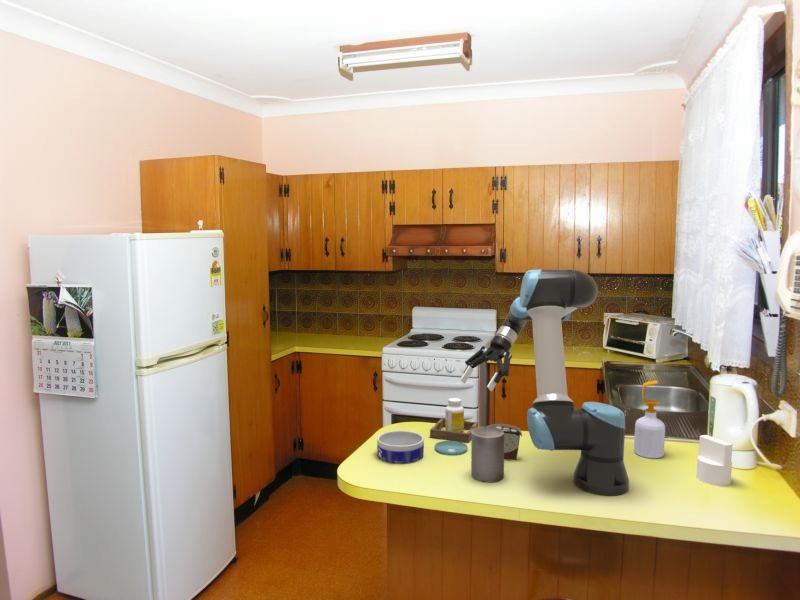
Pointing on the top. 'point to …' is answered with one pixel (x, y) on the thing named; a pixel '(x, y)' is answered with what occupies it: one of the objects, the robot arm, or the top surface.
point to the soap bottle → (649, 430)
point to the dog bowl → (400, 447)
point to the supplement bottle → (454, 416)
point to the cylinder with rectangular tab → (714, 461)
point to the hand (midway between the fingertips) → (475, 385)
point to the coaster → (450, 447)
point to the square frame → (452, 436)
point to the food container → (510, 440)
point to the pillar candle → (487, 454)
